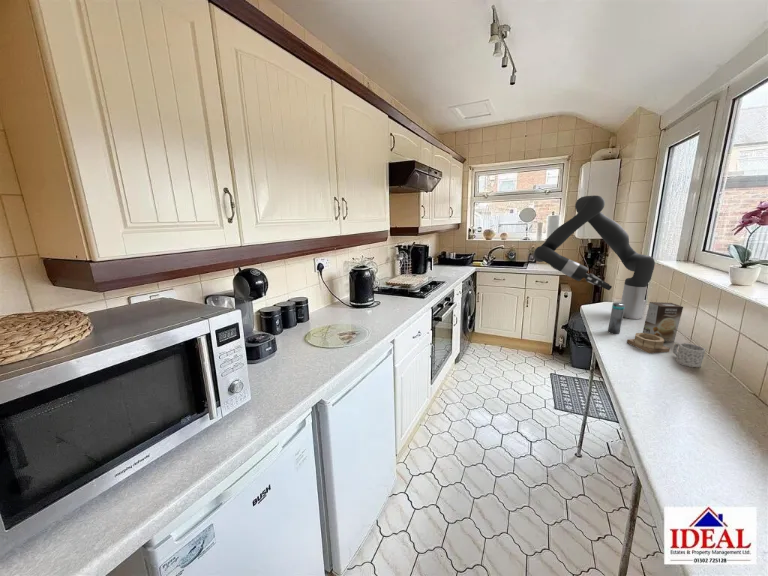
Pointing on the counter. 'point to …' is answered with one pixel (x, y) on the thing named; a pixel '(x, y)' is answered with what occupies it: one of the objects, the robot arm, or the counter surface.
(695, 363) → the mug
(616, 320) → the cylinder
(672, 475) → the counter surface
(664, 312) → the coffee box
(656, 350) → the dock
